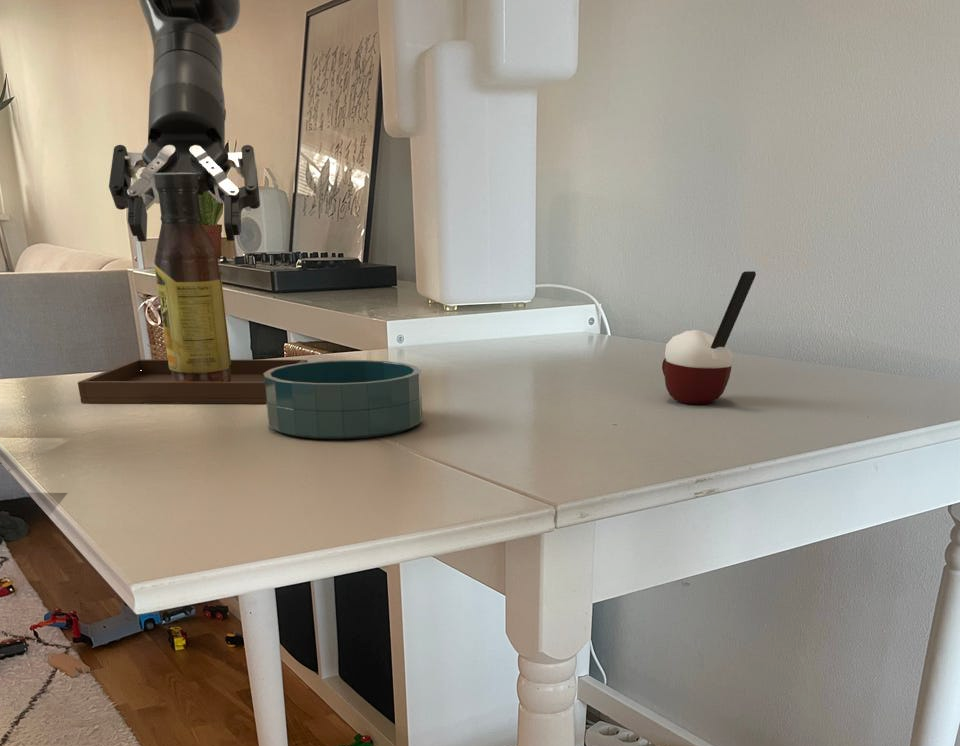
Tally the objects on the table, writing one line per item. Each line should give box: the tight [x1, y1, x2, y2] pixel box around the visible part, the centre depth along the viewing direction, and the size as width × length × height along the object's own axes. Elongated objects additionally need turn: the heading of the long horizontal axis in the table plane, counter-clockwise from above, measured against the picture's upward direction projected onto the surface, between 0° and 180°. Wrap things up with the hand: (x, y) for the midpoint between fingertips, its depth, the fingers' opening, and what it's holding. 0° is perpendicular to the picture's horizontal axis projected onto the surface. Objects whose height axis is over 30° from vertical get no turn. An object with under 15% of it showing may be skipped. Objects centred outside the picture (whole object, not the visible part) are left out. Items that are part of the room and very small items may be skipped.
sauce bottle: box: [153, 173, 232, 382], centre depth 97 cm, size 7×6×20 cm
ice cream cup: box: [661, 270, 757, 405], centre depth 91 cm, size 10×6×12 cm, turn 10°
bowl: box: [263, 359, 423, 440], centre depth 84 cm, size 13×13×4 cm
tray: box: [77, 358, 309, 405], centre depth 100 cm, size 19×15×2 cm
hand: (185, 235), depth 95 cm, fingers open, 8 cm apart
